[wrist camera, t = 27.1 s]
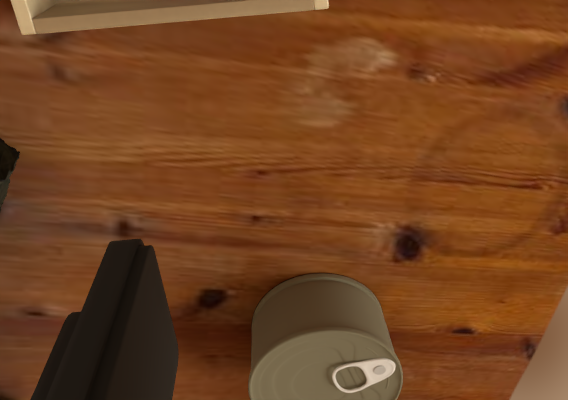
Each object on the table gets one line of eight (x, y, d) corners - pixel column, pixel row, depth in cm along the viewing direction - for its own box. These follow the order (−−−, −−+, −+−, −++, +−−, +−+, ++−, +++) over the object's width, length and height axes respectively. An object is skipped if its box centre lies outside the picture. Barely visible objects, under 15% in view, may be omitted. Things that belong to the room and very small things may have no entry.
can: (226, 299, 45) (221, 362, 39) (359, 251, 43) (375, 310, 37) (281, 385, 51) (285, 451, 45) (401, 346, 49) (421, 410, 43)
